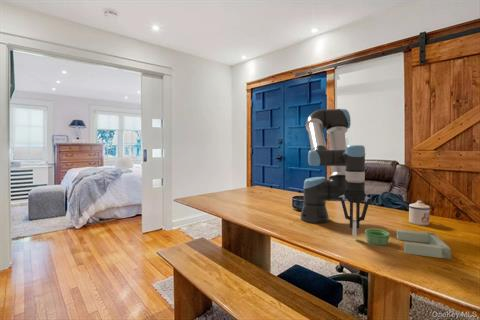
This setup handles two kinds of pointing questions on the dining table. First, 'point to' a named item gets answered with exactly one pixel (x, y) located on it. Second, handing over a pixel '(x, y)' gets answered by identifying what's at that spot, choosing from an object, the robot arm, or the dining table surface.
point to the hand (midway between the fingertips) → (354, 235)
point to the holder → (432, 249)
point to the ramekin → (377, 236)
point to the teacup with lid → (419, 213)
